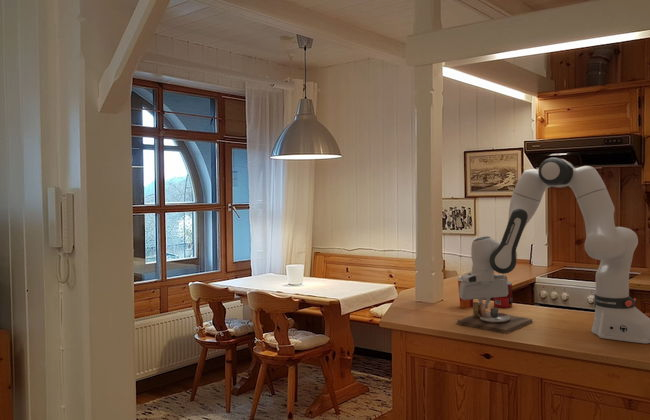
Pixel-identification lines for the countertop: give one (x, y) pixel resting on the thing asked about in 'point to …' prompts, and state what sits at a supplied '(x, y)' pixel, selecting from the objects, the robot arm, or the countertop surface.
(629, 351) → the countertop surface
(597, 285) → the robot arm
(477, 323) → the base board
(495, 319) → the flange
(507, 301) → the canned food
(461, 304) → the paper cup
